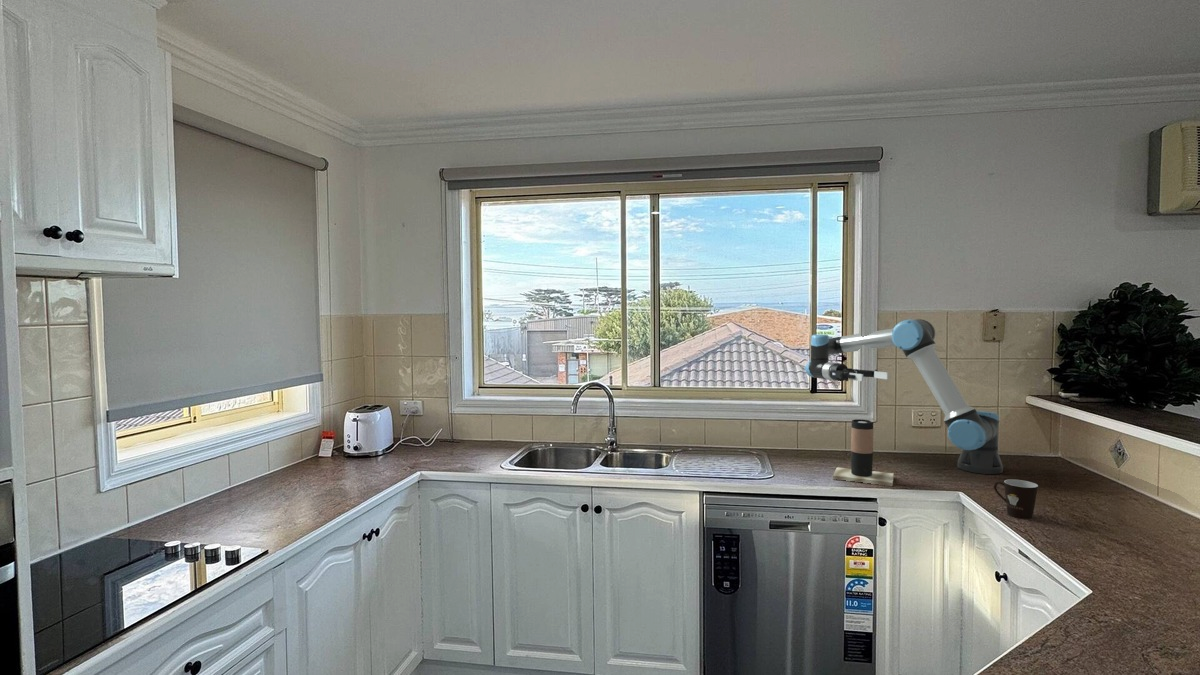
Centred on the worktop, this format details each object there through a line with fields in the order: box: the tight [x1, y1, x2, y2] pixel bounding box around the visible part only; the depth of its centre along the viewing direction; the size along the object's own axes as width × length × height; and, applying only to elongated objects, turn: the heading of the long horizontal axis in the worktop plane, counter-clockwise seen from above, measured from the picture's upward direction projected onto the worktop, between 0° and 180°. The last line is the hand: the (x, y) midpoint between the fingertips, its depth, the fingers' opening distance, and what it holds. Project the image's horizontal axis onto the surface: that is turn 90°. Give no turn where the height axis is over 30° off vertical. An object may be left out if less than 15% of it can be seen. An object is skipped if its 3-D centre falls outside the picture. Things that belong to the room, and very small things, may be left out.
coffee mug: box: [993, 479, 1039, 520], centre depth 189 cm, size 12×9×10 cm
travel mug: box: [850, 418, 874, 477], centre depth 229 cm, size 8×8×20 cm
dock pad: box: [832, 467, 894, 487], centre depth 229 cm, size 20×13×2 cm, turn 63°
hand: (875, 376), depth 245 cm, fingers open, 13 cm apart
